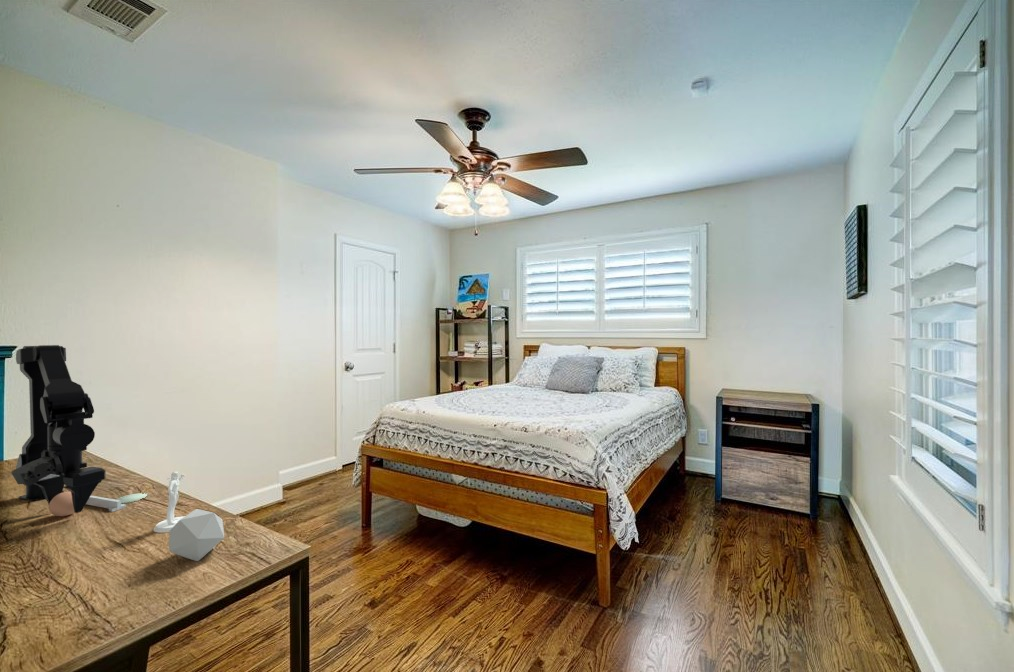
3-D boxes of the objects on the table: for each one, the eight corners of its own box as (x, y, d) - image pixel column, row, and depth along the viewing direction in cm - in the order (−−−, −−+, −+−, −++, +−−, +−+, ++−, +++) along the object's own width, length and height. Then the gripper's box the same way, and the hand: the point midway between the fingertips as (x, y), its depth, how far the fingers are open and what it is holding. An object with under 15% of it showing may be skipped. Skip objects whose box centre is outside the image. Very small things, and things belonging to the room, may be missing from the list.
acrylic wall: (69, 504, 110) (69, 496, 110) (84, 499, 113) (84, 492, 113) (112, 511, 105) (112, 503, 105) (126, 507, 108) (126, 499, 108)
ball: (43, 518, 102) (42, 494, 102) (72, 509, 107) (72, 487, 107) (58, 521, 100) (57, 497, 100) (87, 512, 105) (87, 489, 105)
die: (235, 553, 86) (232, 503, 91) (204, 550, 79) (202, 496, 83) (192, 571, 85) (191, 520, 90) (155, 570, 78) (156, 514, 83)
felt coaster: (109, 501, 112) (109, 500, 112) (137, 493, 118) (137, 492, 118) (126, 504, 110) (126, 503, 110) (153, 495, 116) (153, 494, 116)
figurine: (188, 529, 96) (188, 474, 96) (148, 534, 93) (147, 478, 93) (197, 516, 102) (196, 465, 102) (159, 521, 100) (159, 468, 100)
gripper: (-7, 449, 99) (-7, 518, 99) (44, 455, 93) (45, 529, 93) (57, 437, 109) (57, 500, 109) (106, 443, 103) (107, 509, 103)
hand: (65, 509), depth 103 cm, fingers open, 9 cm apart
